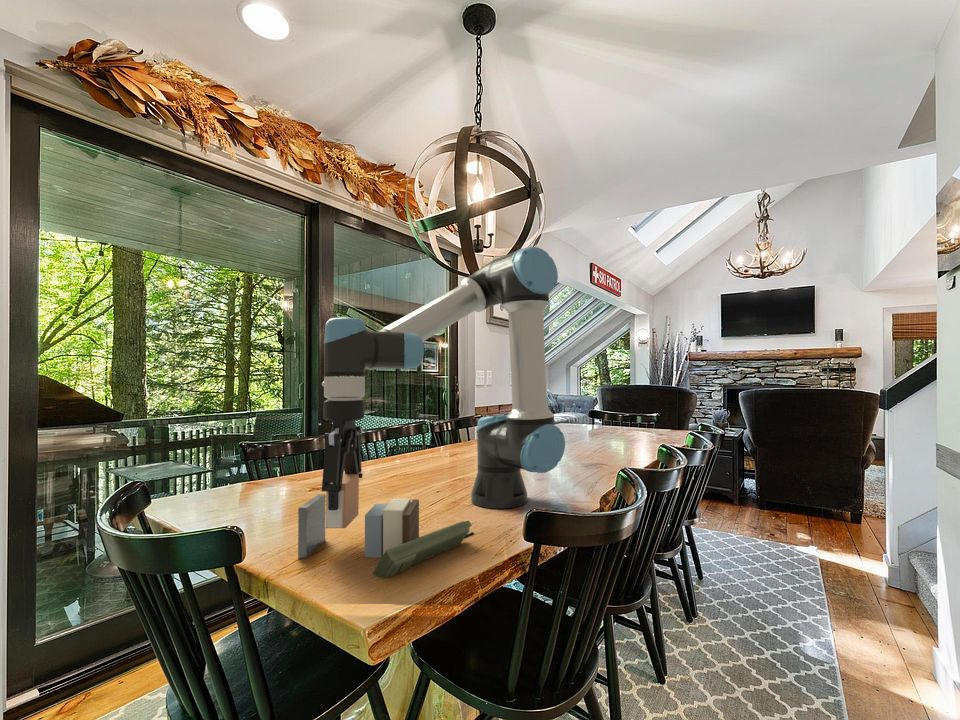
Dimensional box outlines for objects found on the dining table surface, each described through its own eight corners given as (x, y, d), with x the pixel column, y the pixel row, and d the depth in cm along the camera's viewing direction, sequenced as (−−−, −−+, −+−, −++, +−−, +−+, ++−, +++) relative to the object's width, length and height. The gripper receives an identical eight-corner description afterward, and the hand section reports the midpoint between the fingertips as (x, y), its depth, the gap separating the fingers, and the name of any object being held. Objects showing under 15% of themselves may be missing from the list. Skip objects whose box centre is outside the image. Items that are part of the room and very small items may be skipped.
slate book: (390, 542, 88) (390, 503, 88) (381, 557, 81) (381, 515, 81) (375, 542, 88) (375, 503, 88) (364, 557, 81) (364, 515, 81)
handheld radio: (367, 573, 75) (465, 532, 94) (377, 590, 73) (475, 545, 92) (383, 547, 72) (480, 510, 92) (394, 563, 71) (490, 523, 90)
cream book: (410, 541, 88) (410, 498, 88) (402, 558, 80) (402, 510, 80) (393, 541, 88) (393, 498, 89) (383, 558, 80) (383, 510, 81)
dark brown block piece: (419, 545, 89) (418, 499, 89) (409, 567, 79) (409, 515, 79) (314, 545, 90) (315, 499, 90) (292, 566, 80) (293, 514, 80)
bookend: (325, 539, 89) (325, 494, 89) (306, 558, 80) (306, 507, 80) (317, 539, 89) (317, 494, 90) (298, 558, 80) (298, 507, 81)
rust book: (358, 514, 89) (358, 474, 89) (345, 528, 81) (345, 483, 81) (340, 514, 89) (341, 473, 89) (325, 528, 81) (326, 483, 81)
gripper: (343, 396, 96) (341, 503, 95) (301, 402, 75) (299, 539, 74) (377, 396, 96) (376, 503, 95) (345, 402, 75) (344, 539, 74)
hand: (343, 519), depth 85 cm, fingers closed on rust book, 8 cm apart
